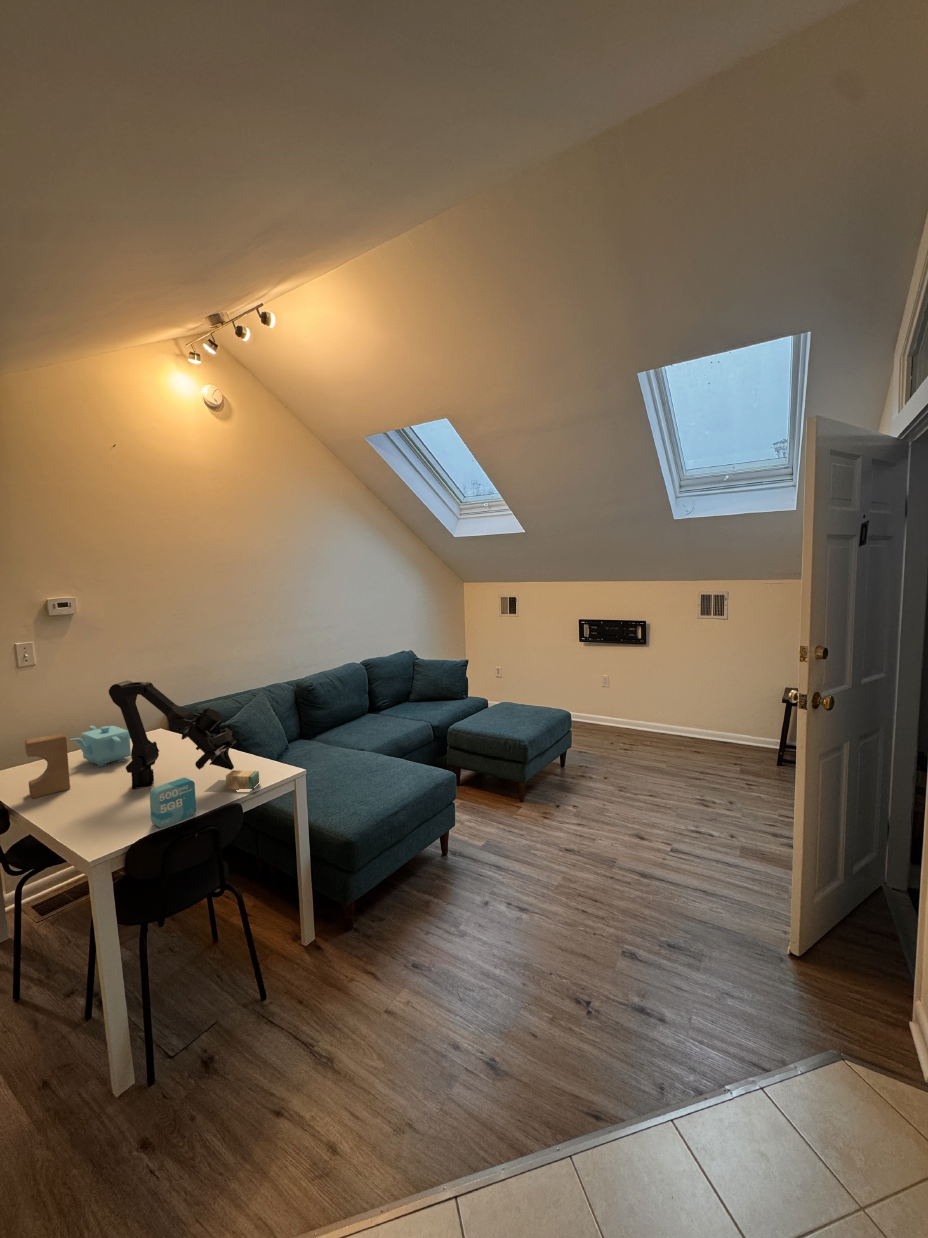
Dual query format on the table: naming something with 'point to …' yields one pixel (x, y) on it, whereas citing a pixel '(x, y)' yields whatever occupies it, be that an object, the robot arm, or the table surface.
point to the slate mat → (220, 787)
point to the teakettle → (105, 744)
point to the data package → (172, 802)
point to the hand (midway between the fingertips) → (232, 768)
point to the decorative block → (49, 764)
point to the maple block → (242, 779)
